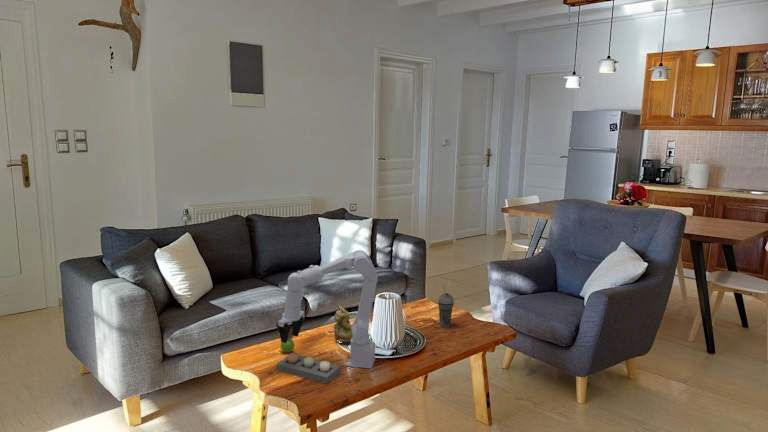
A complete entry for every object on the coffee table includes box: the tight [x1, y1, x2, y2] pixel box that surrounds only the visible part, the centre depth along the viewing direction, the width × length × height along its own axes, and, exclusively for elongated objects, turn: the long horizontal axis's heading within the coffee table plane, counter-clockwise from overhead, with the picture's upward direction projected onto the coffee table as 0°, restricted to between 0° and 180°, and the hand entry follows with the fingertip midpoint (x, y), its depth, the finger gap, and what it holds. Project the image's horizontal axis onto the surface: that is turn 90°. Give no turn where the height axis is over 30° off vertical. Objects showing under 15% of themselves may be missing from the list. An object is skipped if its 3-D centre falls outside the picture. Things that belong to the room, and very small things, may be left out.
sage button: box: [304, 356, 314, 369], centre depth 201 cm, size 4×4×3 cm
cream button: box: [320, 360, 330, 373], centre depth 198 cm, size 4×4×3 cm
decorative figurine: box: [333, 305, 353, 342], centre depth 228 cm, size 10×8×15 cm
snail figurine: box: [280, 329, 295, 353], centre depth 216 cm, size 5×6×12 cm
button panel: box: [276, 354, 342, 385], centre depth 201 cm, size 22×10×2 cm, turn 65°
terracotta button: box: [287, 352, 298, 365], centre depth 203 cm, size 4×4×3 cm
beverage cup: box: [437, 283, 455, 329], centre depth 245 cm, size 7×7×20 cm
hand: (289, 338), depth 203 cm, fingers open, 7 cm apart
